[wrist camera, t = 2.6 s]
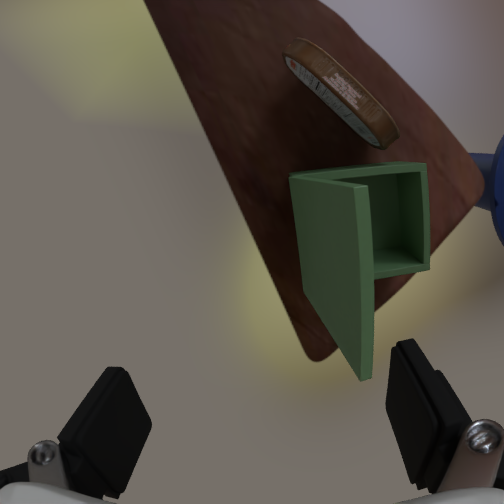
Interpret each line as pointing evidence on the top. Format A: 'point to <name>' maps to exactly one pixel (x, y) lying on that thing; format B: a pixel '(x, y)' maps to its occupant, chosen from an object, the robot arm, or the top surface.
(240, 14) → the top surface
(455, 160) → the top surface
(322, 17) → the top surface
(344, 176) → the chest
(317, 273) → the lid
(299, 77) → the tin
